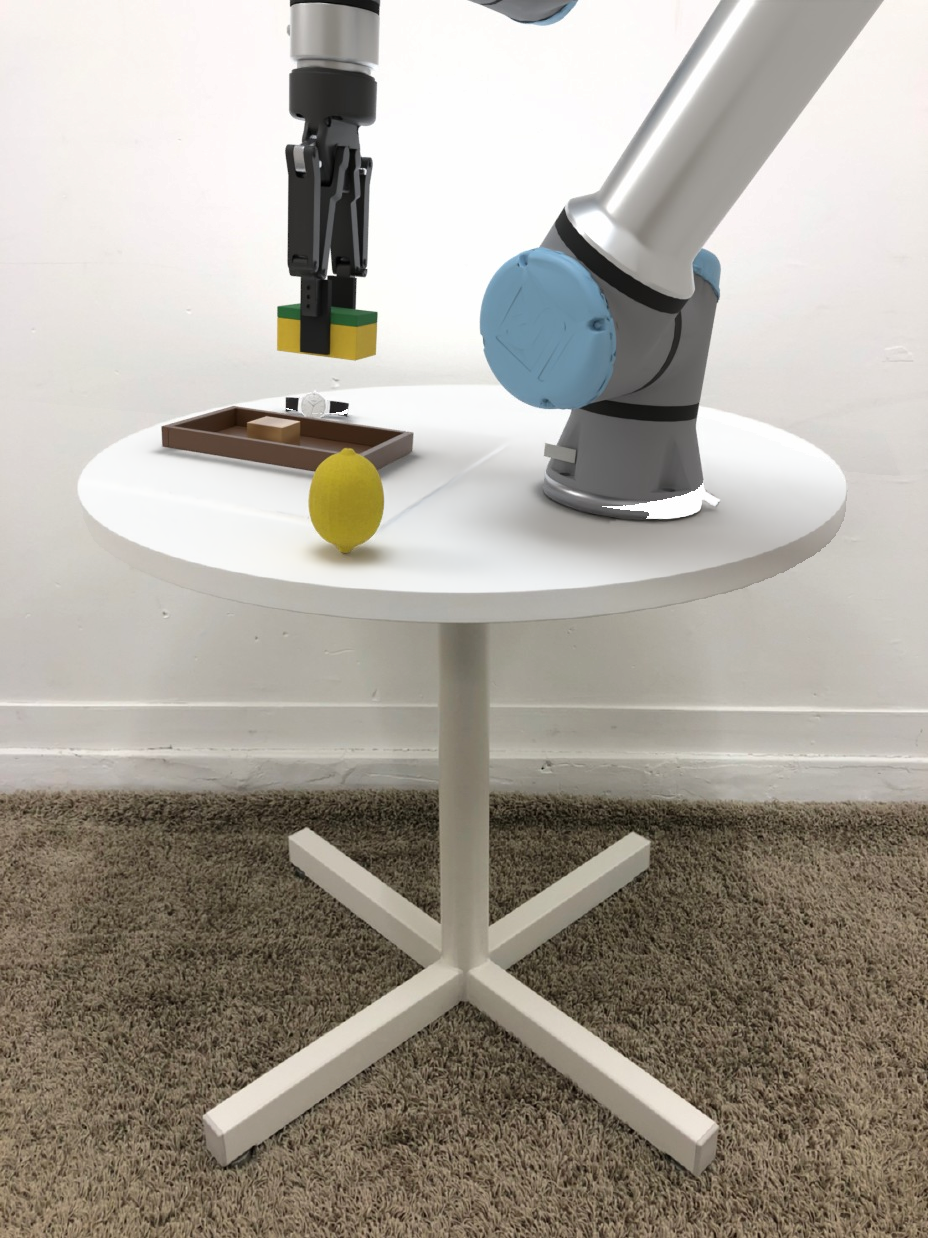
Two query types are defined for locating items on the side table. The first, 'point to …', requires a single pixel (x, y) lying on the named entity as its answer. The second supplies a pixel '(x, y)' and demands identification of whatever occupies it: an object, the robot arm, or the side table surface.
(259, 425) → the tan wooden block
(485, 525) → the side table surface
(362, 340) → the sponge
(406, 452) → the tray
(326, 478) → the lemon
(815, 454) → the side table surface
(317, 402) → the watch
